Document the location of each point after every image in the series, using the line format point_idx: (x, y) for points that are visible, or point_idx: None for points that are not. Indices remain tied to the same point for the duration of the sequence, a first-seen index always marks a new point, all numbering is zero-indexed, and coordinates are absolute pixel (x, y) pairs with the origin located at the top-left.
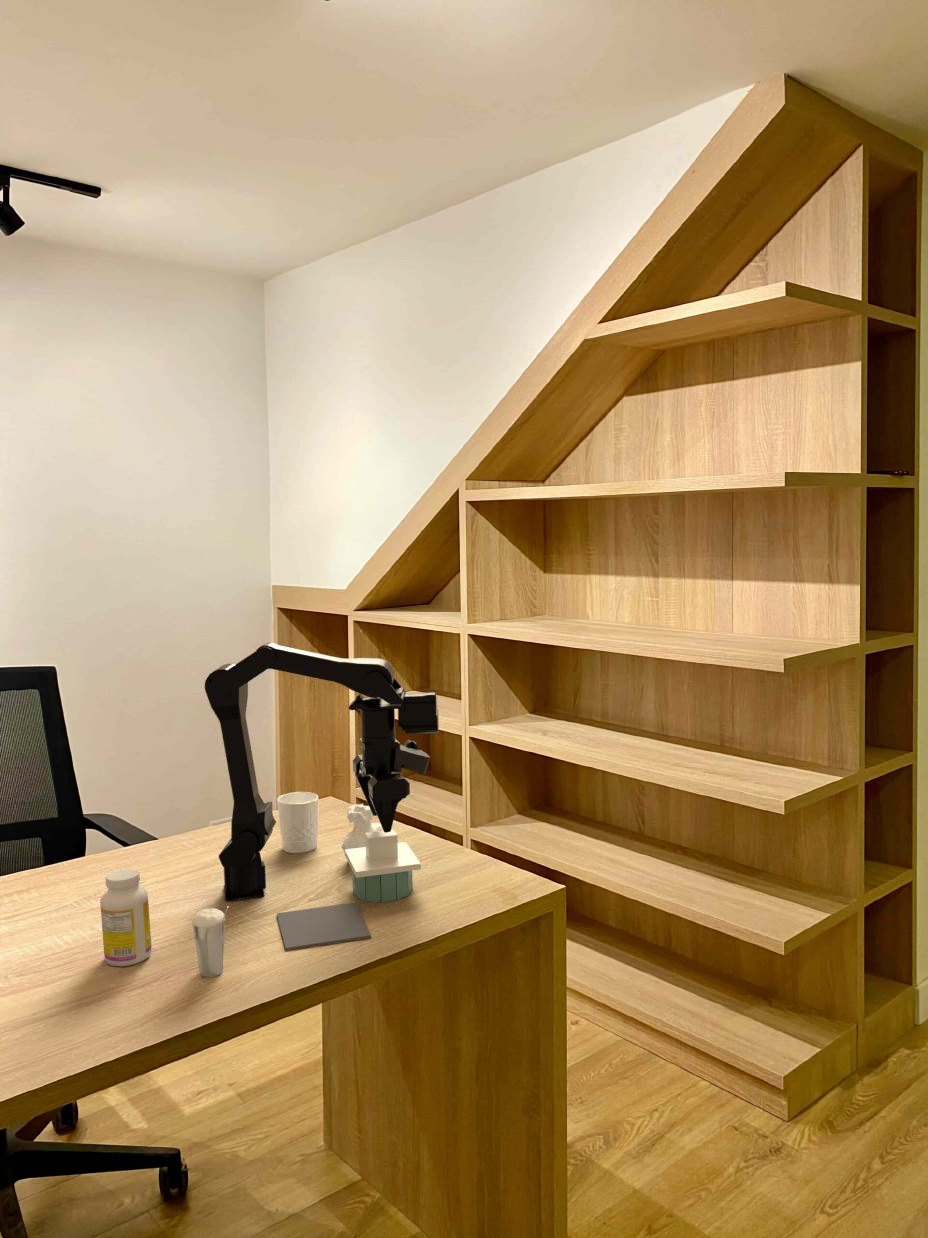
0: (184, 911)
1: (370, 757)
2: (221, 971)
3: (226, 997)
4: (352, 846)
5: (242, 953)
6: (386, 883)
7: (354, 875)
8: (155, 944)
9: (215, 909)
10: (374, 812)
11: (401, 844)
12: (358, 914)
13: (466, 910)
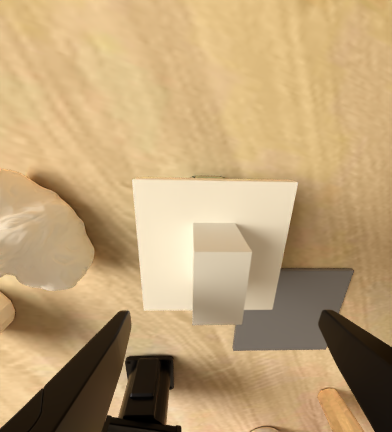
0: (182, 410)
1: None
2: (336, 391)
3: None
4: (73, 271)
5: (304, 375)
6: None
7: None
8: (247, 423)
9: None
10: (126, 335)
11: (148, 194)
12: (285, 274)
13: (354, 107)
